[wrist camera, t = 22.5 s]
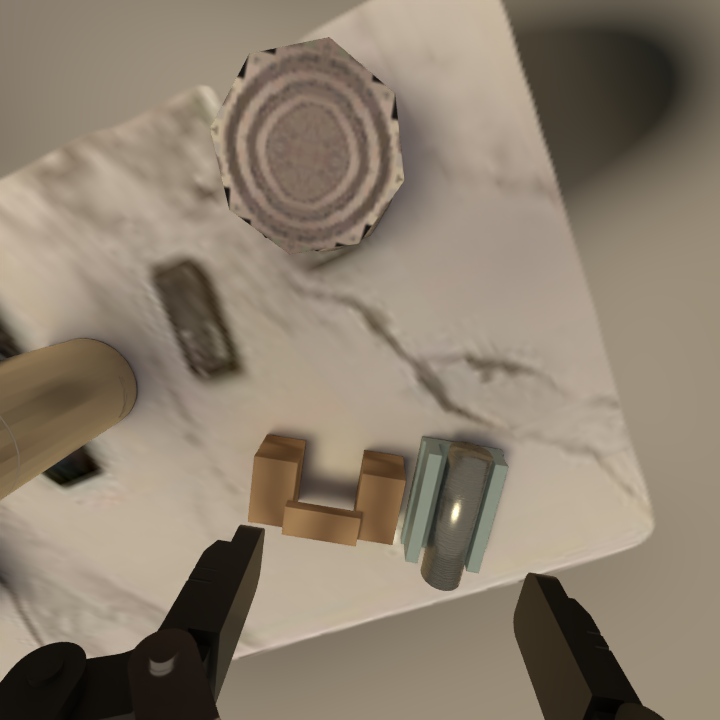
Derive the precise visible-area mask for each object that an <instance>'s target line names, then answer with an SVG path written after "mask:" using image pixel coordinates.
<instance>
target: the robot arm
mask: <svg viewBox="0 0 720 720" xmlns="http://www.w3.org/2000/svg"><path fill="white" fill-rule="evenodd" d="M136 392H137V389H136V381H135V378H134V374H133V372H132V370H131V368H130V366H129V364H128V363H127V362H126V360H125V359H124V358H123V357H122V355H120V354H119V353H118V352H117V351H116V350H115V349H113V348H112V347H110V346H108V345H106V344H105V343H102V342H99V341H96V340H92V339H74V340H70V341H67V342H63V343H60V344H57V345H53V346H50V347H44V348H41V349H37V350H34V351H30V352H27V353H24V354H20V355H17V356H13V357H10V358H7V359H3V360H0V500H1V499H3V498H4V497H6V496H7V495H9V494H10V493H12V492H13V491H15V490H16V489H18V488H19V487H21V486H22V485H24V484H25V483H27V482H28V481H30V480H31V479H33V478H34V477H36V476H37V475H39V474H40V473H42V472H43V471H45V470H46V469H48V468H50V467H51V466H53V465H54V464H56V463H57V462H59V461H60V460H62V459H63V458H65V457H66V456H68V455H69V454H71V453H72V452H74V451H75V450H77V449H78V448H80V447H81V446H83V445H84V444H86V443H87V442H89V441H90V440H92V439H93V438H95V437H96V436H98V435H99V434H101V433H102V432H104V431H106V430H107V429H109V428H110V427H112V426H113V425H115V424H116V423H118V422H119V421H121V420H122V419H123V418H124V417H125V416H127V415H128V413H129V412H130V411H131V409H132V408H133V405H134V402H135V400H136ZM264 535H265V529H264V528H258V527H252V526H246V525H240V526H239V527H238V529H237V531H236V533H235V535H234V537H233V539H232V541H231V542H228V541H222V540H217V541H216V542H215V543H213V544H212V545H211V546H210V547H208V548H207V549H206V550H205V551H204V552H203V554H202V555H201V557H200V559H199V561H198V562H197V564H196V566H195V568H194V569H193V571H192V573H191V574H190V576H189V579H188V581H186V583H185V585H184V587H183V588H182V590H181V592H180V594H179V595H178V597H177V599H176V601H175V602H174V604H173V606H172V607H171V609H170V611H169V613H168V614H167V616H166V618H165V620H164V621H163V623H162V625H161V626H160V628H159V629H158V631H157V632H155V633H152V634H151V635H149V636H147V637H146V638H145V639H143V640H142V641H141V642H140V643H139V644H138V645H137V646H136V647H135V649H133V650H131V651H128V652H125V653H121V654H116V655H110V656H103V657H96V658H90V659H86V654H85V652H84V650H83V649H82V648H81V647H80V646H79V645H77V644H74V643H70V642H57V643H52V644H48V645H46V646H43V647H40V648H38V649H36V650H34V651H33V652H31V653H29V654H28V655H26V656H25V657H23V658H22V659H21V660H20V661H19V662H18V663H16V664H15V665H14V667H13V668H12V669H11V670H10V671H9V672H8V674H7V675H6V676H5V677H4V679H3V680H2V681H1V682H0V720H221V719H220V716H219V713H218V710H217V707H216V702H217V699H218V696H219V693H220V690H221V687H222V685H223V682H224V679H225V676H226V674H227V671H228V668H229V665H230V662H231V660H232V657H233V654H234V651H235V648H236V646H237V643H238V640H239V637H240V634H241V632H242V629H243V626H244V623H245V620H246V617H247V615H248V612H249V609H250V606H251V603H252V601H253V598H254V595H255V592H256V589H257V585H258V581H259V576H260V570H261V561H262V553H263V544H264ZM514 633H515V637H516V640H517V643H518V645H519V648H520V651H521V654H522V656H523V659H524V662H525V665H526V668H527V671H528V674H529V676H530V679H531V682H532V685H533V687H534V690H535V693H536V696H537V699H538V701H539V705H540V707H541V710H542V713H543V716H544V719H545V720H664V718H662V717H661V716H660V715H658V714H657V713H656V712H654V711H652V710H650V709H649V708H647V707H645V706H643V705H642V703H641V701H640V700H639V698H638V696H637V694H636V693H635V691H634V689H633V688H632V686H631V684H630V682H629V681H628V679H627V677H626V676H625V674H624V672H623V671H622V669H621V667H620V665H619V664H618V662H617V660H616V658H615V657H614V655H613V653H612V652H611V651H610V650H609V646H608V645H607V643H606V641H605V639H604V638H603V636H601V635H600V631H599V629H598V628H597V626H596V624H595V622H594V620H593V619H592V617H591V615H590V614H589V613H588V612H587V611H586V610H585V609H584V608H583V607H582V606H581V605H580V604H579V603H578V602H577V601H576V600H575V599H573V598H568V596H567V594H566V593H565V591H564V589H563V587H562V585H561V583H560V582H559V580H558V579H557V578H556V577H554V576H548V575H542V574H536V573H528V574H527V576H526V578H525V581H524V584H523V587H522V590H521V594H520V596H519V600H518V603H517V606H516V609H515V613H514Z"/></svg>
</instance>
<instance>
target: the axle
mask: <svg viewBox="0 0 720 720" xmlns="http://www.w3.org/2000/svg"><path fill="white" fill-rule="evenodd" d="M492 460H493V456H492V454H491V453H490V452H489V451H488V450H486V449H485V448H483V447H481V446H478V445H476V444H472V443H468V442H454V443H452V444H450V447H449V451H448V455H447V459H446V464H445V468H444V472H443V476H442V481H441V485H440V489H439V493H438V498H437V502H436V506H435V510H434V515H433V519H432V523H431V527H430V532H429V536H428V540H427V544H426V549H425V553H424V557H423V561H422V566H421V575H422V577H423V579H424V580H425V581H426V582H427V583H428V584H429V585H431V586H432V587H434V588H436V589H439V590H443V591H451V590H454V589H456V588H457V587H458V586H459V584H460V580H461V576H462V572H463V569H464V565H465V561H466V557H467V554H468V550H469V546H470V542H471V539H472V535H473V531H474V528H475V524H476V520H477V516H478V513H479V509H480V505H481V501H482V498H483V494H484V490H485V486H486V483H487V479H488V475H489V472H490V468H491V464H492Z"/></svg>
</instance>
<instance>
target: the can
mask: <svg viewBox="0 0 720 720" xmlns="http://www.w3.org/2000/svg"><path fill="white" fill-rule="evenodd" d="M210 130H211V135H212V139H213V143H214V147H215V151H216V156H217V160H218V164H219V168H220V172H221V176H222V181H223V185H224V189H225V193H226V197H227V202H228V206H229V210H231V211H232V212H233V213H235V214H236V215H238V216H239V217H240V218H242V219H243V220H244V221H246V222H247V223H248V224H250V225H251V226H252V227H254V228H255V229H256V230H258V231H259V232H260V233H262V234H263V235H264V237H265V238H268V239H270V240H271V241H273V242H274V243H275V244H277V245H278V246H279V247H281V248H282V249H283V250H285V251H286V252H287V253H289V254H294V253H300V252H307V251H313V250H315V251H333V250H337V249H339V248H342V247H344V246H347V245H353V244H359V243H360V242H361V240H362V239H363V238H366V237H368V236H370V235H371V234H372V232H373V230H374V229H375V227H376V226H377V224H378V222H379V221H380V219H381V217H382V216H383V214H384V212H385V211H386V209H387V208H388V206H389V204H390V203H391V201H392V198H393V196H394V194H395V193H396V191H397V190H398V189H399V187H400V186H401V184H402V183H403V182H404V173H403V164H402V154H401V145H400V135H399V126H398V116H397V107H396V97H395V93H394V92H393V91H391V90H390V89H389V88H388V87H387V86H386V85H384V84H383V83H382V82H381V81H380V80H379V79H377V78H376V77H375V76H374V75H373V74H372V73H370V72H369V71H368V70H367V69H366V68H365V67H363V66H362V65H361V64H360V63H359V62H358V61H356V60H355V59H354V58H353V57H352V56H351V55H349V54H348V53H347V52H346V51H345V50H344V49H342V48H341V47H340V46H339V45H338V44H337V43H335V42H334V41H333V40H332V39H331V38H330V37H328V38H323V39H318V40H313V41H309V42H304V43H299V44H294V45H289V46H285V47H280V48H275V49H270V50H266V51H261V52H256V53H251V54H249V56H248V58H247V59H246V61H245V63H244V65H243V67H242V69H241V71H240V73H239V75H238V76H237V78H236V80H235V82H234V84H233V86H232V88H231V90H230V92H229V93H228V95H227V97H226V99H225V101H224V103H223V105H222V107H221V109H220V111H219V112H218V114H217V116H216V118H215V120H214V122H213V124H212V126H211V128H210Z"/></svg>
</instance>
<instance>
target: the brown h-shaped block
mask: <svg viewBox="0 0 720 720" xmlns="http://www.w3.org/2000/svg"><path fill="white" fill-rule="evenodd" d="M305 445H306V441H304V440H298V439H292V438H286V437H280V436H274V435H268V434H267V436H266V437H265V439H264V441H263V443H262V444H261V446H260V448H259V449H258V451H257V453H256V454H255V456H254V465H253V475H252V485H251V495H250V505H249V515H248V522H254V523H260V524H266V525H272V526H278V527H282V534H283V535H289V536H295V537H301V538H307V539H313V540H320V541H326V542H332V543H338V544H344V545H350V546H356V542H357V539H358V540H364V541H371V542H377V543H383V544H389V545H392V544H393V540H394V535H395V530H396V525H397V521H398V516H399V511H400V506H401V502H402V497H403V492H404V487H405V483H406V478H405V470H404V461H403V456H396V455H390V454H384V453H378V452H372V451H366V450H364V454H363V460H362V465H361V471H360V477H359V482H358V488H357V494H356V499H355V505H354V511H350V510H344V509H338V508H332V507H326V506H320V505H313V504H307V503H301V502H298V497H299V489H300V482H301V474H302V467H303V460H304V452H305Z"/></svg>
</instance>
